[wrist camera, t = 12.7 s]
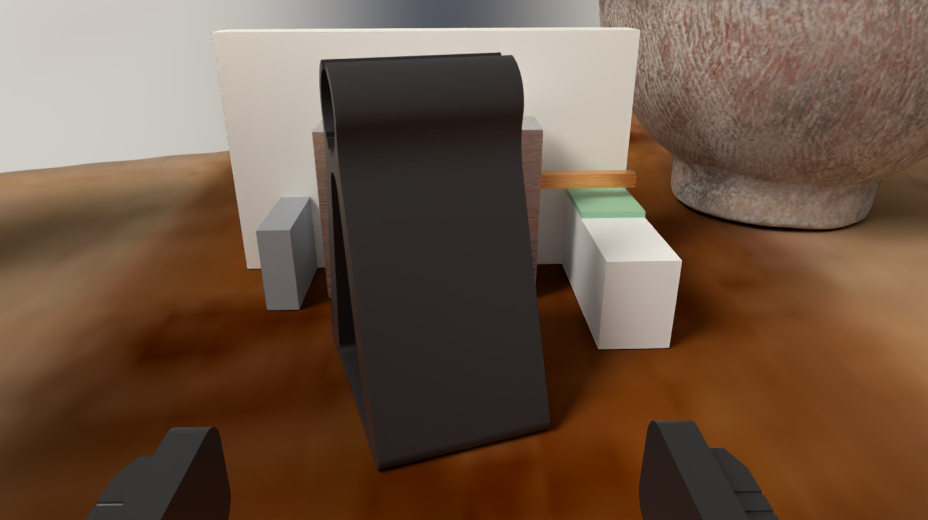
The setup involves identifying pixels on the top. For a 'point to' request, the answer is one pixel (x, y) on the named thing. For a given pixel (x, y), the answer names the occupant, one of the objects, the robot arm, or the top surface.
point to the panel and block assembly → (545, 97)
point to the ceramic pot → (781, 101)
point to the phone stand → (432, 251)
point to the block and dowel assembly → (532, 181)
